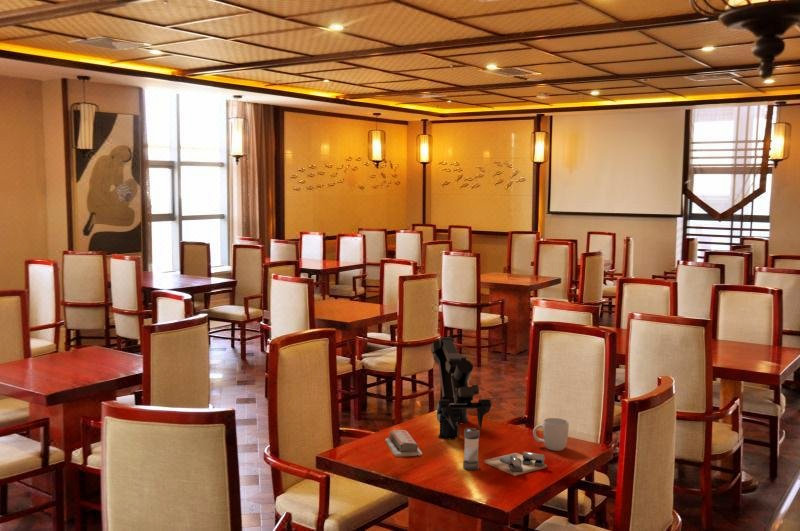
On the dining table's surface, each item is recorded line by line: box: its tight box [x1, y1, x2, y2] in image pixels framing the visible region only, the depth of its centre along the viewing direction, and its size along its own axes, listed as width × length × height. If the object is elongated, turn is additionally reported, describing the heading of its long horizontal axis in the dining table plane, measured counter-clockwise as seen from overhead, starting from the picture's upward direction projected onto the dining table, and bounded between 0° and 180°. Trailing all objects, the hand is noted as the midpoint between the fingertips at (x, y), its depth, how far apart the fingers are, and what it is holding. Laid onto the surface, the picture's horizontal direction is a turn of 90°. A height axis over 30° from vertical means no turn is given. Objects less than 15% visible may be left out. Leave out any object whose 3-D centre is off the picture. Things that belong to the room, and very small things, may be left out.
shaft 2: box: [522, 451, 546, 467], centre depth 259 cm, size 7×4×4 cm, turn 67°
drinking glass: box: [462, 427, 481, 472], centre depth 256 cm, size 5×5×13 cm
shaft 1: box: [508, 453, 523, 472], centre depth 254 cm, size 7×4×4 cm, turn 3°
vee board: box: [483, 452, 548, 477], centre depth 260 cm, size 15×15×1 cm
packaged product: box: [384, 429, 423, 458], centre depth 276 cm, size 18×5×10 cm
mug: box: [532, 417, 570, 452], centre depth 279 cm, size 13×9×10 cm
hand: (467, 428), depth 262 cm, fingers open, 9 cm apart
